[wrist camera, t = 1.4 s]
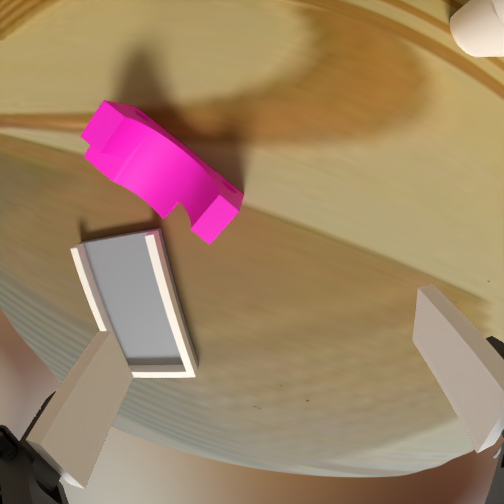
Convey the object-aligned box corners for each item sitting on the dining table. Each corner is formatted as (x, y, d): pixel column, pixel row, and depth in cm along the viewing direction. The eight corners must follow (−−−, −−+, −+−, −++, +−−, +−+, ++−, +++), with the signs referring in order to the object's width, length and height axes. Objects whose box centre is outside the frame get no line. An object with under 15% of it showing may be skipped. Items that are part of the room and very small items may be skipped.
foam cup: (425, 11, 22) (487, -26, 10) (465, -4, 20) (524, -32, 8) (468, 78, 25) (542, 68, 12) (503, 57, 23) (569, 47, 10)
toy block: (104, 153, 30) (66, 159, 23) (136, 106, 28) (103, 100, 21) (205, 238, 33) (191, 265, 26) (244, 194, 31) (239, 211, 24)
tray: (80, 241, 33) (70, 248, 31) (160, 227, 32) (153, 234, 30) (127, 365, 40) (121, 376, 37) (198, 364, 39) (195, 377, 36)
